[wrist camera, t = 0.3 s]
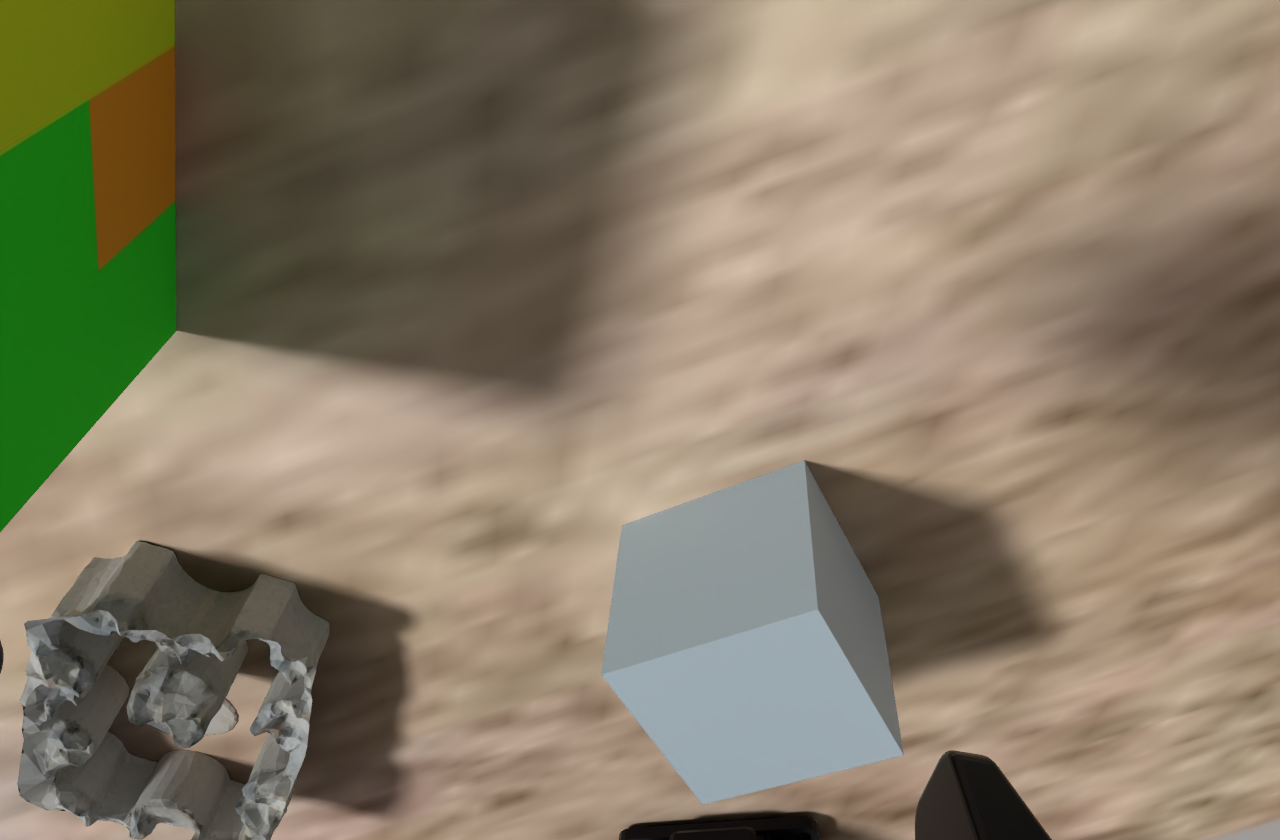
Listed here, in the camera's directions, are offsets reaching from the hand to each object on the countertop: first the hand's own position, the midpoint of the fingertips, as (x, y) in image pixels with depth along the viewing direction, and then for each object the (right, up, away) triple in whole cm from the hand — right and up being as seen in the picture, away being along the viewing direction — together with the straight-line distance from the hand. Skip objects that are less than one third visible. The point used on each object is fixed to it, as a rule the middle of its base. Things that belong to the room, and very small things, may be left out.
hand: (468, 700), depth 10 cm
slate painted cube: (+5, -1, +17) cm, 18 cm away
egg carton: (-12, -5, +22) cm, 25 cm away
